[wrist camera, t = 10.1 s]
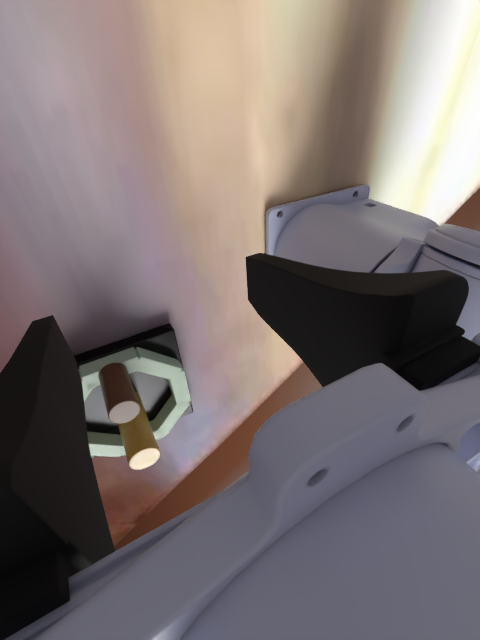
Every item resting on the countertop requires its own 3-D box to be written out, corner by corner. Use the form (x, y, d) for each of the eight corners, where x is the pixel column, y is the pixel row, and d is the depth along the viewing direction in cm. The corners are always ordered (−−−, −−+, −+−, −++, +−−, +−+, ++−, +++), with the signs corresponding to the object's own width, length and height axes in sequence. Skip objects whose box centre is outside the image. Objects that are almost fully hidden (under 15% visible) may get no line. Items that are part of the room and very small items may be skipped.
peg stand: (169, 322, 24) (204, 379, 20) (189, 404, 30) (219, 462, 25) (28, 371, 21) (29, 453, 16) (81, 452, 27) (92, 530, 22)
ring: (191, 412, 29) (213, 455, 26) (83, 461, 26) (92, 518, 23) (171, 329, 23) (196, 371, 20) (29, 379, 20) (30, 439, 17)
